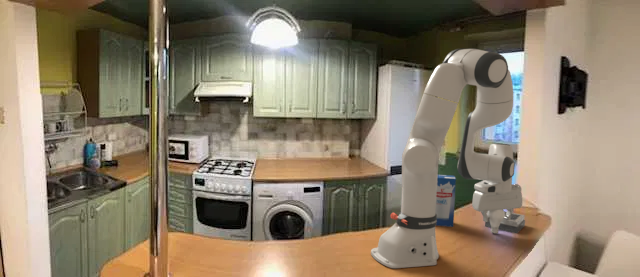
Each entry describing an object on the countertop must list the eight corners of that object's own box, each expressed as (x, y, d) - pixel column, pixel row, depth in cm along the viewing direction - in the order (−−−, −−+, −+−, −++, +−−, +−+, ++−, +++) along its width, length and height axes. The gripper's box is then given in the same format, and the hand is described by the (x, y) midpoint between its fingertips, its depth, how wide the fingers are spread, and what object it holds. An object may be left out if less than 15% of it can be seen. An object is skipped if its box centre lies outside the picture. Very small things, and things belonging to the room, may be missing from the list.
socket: (517, 233, 146) (517, 222, 145) (484, 226, 154) (485, 215, 153) (524, 225, 155) (525, 215, 154) (494, 219, 163) (494, 209, 162)
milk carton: (452, 222, 159) (454, 175, 156) (453, 226, 153) (456, 178, 150) (427, 219, 161) (429, 174, 159) (428, 224, 155) (430, 177, 153)
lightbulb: (486, 235, 143) (488, 207, 142) (484, 229, 149) (486, 203, 148) (504, 237, 142) (506, 209, 140) (502, 231, 148) (503, 204, 146)
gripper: (515, 181, 149) (513, 215, 150) (470, 184, 143) (468, 220, 145) (527, 185, 143) (525, 220, 144) (481, 188, 137) (479, 225, 139)
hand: (496, 220), depth 145 cm, fingers open, 8 cm apart
